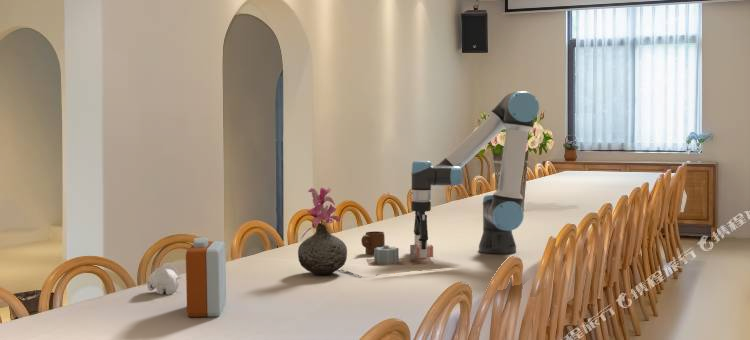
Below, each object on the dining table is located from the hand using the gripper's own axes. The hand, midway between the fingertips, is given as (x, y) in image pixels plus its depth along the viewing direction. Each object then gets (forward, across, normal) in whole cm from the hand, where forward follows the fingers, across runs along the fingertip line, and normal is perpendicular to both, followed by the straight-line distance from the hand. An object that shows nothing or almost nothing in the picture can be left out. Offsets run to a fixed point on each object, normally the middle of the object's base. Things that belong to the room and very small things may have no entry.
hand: (420, 255), depth 308 cm
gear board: (+1, +13, -10) cm, 16 cm away
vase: (+2, +29, -39) cm, 48 cm away
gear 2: (+1, 0, 0) cm, 1 cm away
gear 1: (0, +13, -15) cm, 20 cm away
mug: (+2, -6, -18) cm, 19 cm away
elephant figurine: (+2, +52, -89) cm, 103 cm away
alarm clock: (+2, +79, -72) cm, 107 cm away
